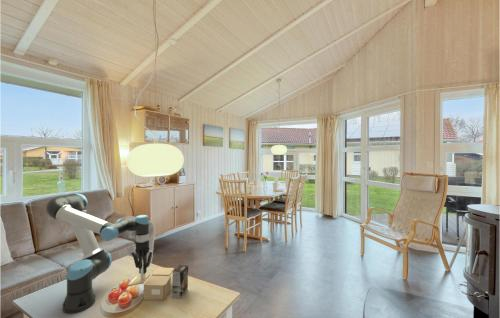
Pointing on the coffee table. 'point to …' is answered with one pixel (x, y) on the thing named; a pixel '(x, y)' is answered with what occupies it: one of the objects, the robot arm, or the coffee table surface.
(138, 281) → the panel
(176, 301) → the coffee table surface
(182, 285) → the coffee box
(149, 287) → the carton
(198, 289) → the coffee table surface
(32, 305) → the coffee table surface
